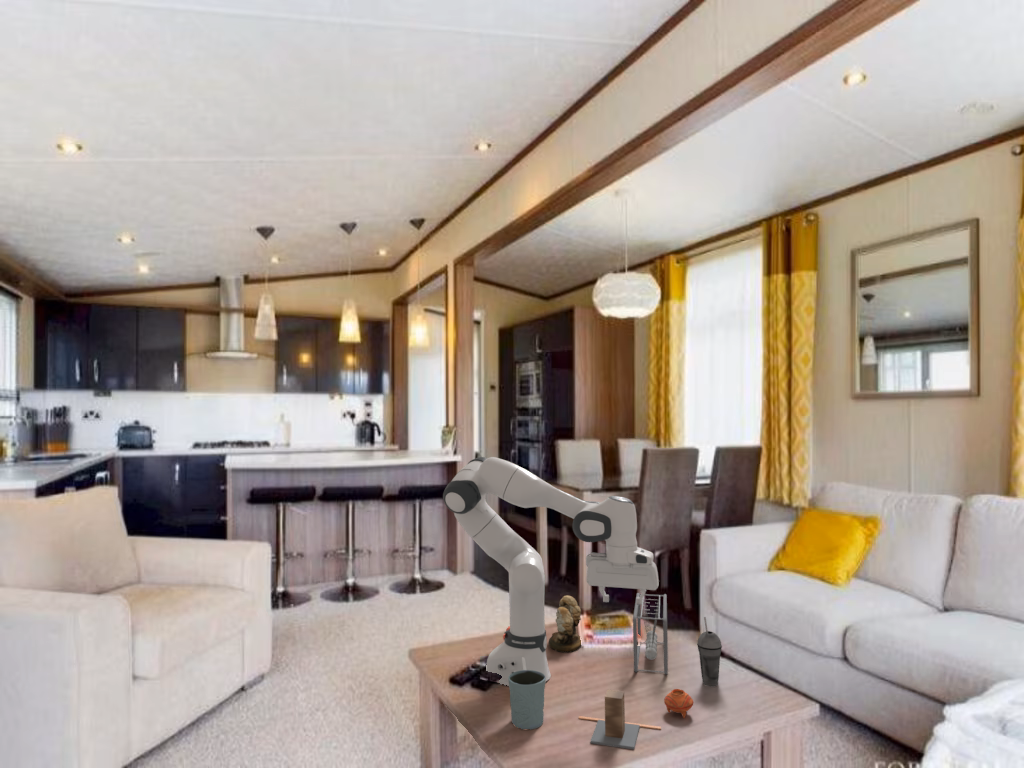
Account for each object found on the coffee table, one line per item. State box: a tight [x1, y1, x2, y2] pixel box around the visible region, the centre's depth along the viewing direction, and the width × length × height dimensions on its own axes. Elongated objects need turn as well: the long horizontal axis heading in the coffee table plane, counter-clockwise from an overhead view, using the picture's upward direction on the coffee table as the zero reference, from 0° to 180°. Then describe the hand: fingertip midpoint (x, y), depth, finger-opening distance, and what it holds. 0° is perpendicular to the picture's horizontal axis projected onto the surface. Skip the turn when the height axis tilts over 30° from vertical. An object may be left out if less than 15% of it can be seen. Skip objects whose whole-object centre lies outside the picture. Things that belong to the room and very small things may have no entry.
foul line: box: [578, 715, 662, 731], centre depth 177 cm, size 22×1×1 cm, turn 72°
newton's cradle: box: [632, 592, 669, 675], centre depth 222 cm, size 30×10×18 cm, turn 167°
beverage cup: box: [697, 616, 723, 688], centre depth 201 cm, size 7×7×20 cm
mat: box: [590, 720, 641, 750], centre depth 171 cm, size 11×12×1 cm
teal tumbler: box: [508, 670, 546, 730], centre depth 179 cm, size 10×10×12 cm
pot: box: [663, 688, 695, 719], centre depth 182 cm, size 8×8×7 cm
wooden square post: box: [604, 689, 626, 738], centre depth 171 cm, size 4×4×10 cm
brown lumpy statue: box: [548, 595, 582, 653], centre depth 236 cm, size 18×12×17 cm, turn 174°
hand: (622, 602), depth 188 cm, fingers open, 8 cm apart
